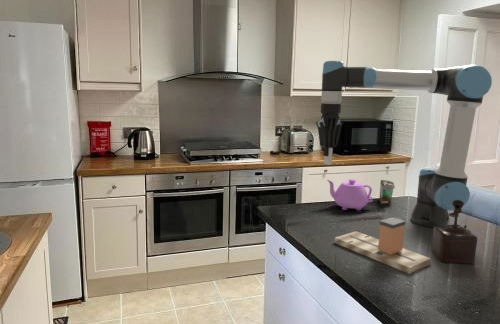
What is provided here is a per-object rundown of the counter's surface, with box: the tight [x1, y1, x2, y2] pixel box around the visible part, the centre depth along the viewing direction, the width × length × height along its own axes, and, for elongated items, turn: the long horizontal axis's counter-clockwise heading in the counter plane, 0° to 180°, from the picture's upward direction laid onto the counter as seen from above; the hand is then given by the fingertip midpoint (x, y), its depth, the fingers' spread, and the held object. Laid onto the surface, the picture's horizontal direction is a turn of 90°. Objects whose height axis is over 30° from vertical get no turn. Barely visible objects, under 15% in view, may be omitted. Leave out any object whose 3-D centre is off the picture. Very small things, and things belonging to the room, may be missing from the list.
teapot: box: [326, 178, 374, 211], centre depth 189 cm, size 22×16×14 cm
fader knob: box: [378, 217, 406, 255], centre depth 134 cm, size 5×7×10 cm
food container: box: [379, 179, 396, 205], centre depth 200 cm, size 12×6×10 cm, turn 168°
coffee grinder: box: [431, 200, 478, 265], centre depth 137 cm, size 16×11×18 cm
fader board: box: [334, 231, 432, 275], centre depth 138 cm, size 30×12×2 cm, turn 37°
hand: (327, 164), depth 156 cm, fingers closed
